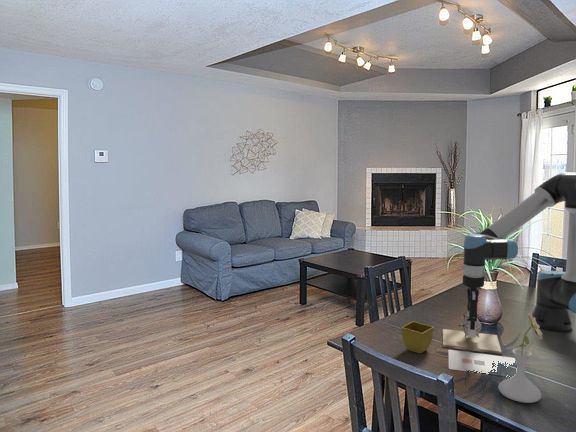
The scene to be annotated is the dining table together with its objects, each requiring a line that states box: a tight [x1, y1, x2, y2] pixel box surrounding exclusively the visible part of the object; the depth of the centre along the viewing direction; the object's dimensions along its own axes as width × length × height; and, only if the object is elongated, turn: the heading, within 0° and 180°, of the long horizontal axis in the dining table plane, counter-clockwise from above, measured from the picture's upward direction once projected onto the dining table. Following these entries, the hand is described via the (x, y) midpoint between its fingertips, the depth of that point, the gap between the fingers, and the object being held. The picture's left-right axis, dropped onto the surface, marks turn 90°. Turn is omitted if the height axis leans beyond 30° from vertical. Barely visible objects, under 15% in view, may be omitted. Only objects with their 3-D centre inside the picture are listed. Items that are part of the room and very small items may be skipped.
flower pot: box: [401, 321, 435, 354], centre depth 163 cm, size 9×9×9 cm
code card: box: [447, 349, 516, 378], centre depth 152 cm, size 22×16×1 cm
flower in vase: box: [497, 312, 543, 404], centre depth 130 cm, size 13×11×25 cm
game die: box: [457, 313, 486, 337], centre depth 169 cm, size 9×8×10 cm
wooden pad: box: [442, 328, 502, 355], centre depth 170 cm, size 20×16×1 cm
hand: (470, 332), depth 169 cm, fingers closed on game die, 9 cm apart
